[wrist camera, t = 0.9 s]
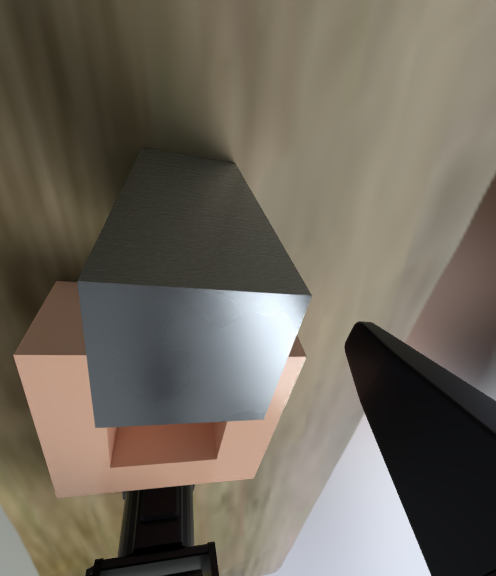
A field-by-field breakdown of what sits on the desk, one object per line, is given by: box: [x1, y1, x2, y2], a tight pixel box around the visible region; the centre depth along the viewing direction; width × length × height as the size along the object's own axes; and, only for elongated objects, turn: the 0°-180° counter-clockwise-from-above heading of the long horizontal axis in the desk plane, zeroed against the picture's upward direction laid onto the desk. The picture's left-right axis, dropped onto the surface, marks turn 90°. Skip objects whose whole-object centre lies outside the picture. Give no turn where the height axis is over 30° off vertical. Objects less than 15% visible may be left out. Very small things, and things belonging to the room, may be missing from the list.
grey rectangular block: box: [77, 147, 312, 428], centre depth 10 cm, size 4×4×10 cm
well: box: [13, 281, 306, 498], centre depth 18 cm, size 12×12×5 cm
